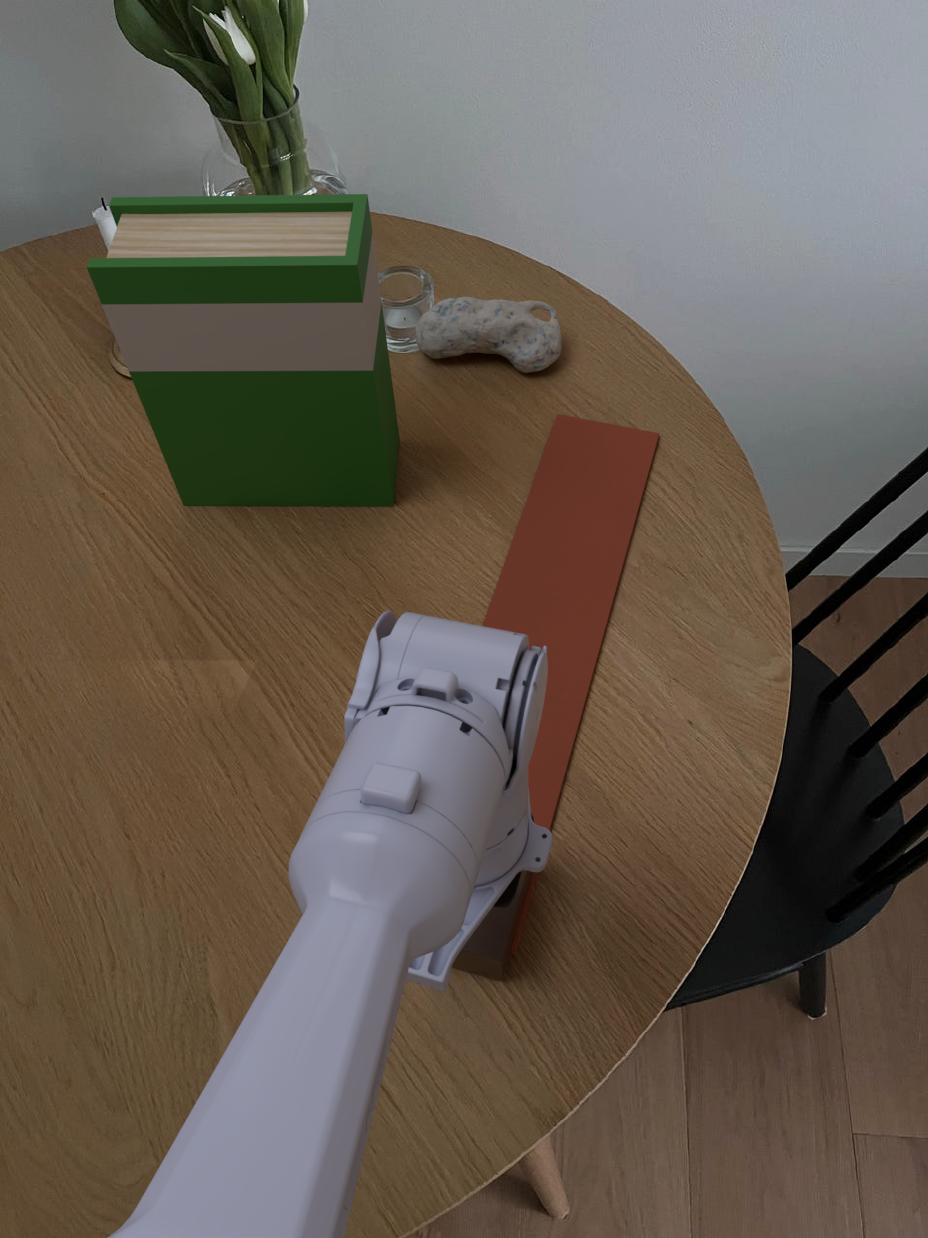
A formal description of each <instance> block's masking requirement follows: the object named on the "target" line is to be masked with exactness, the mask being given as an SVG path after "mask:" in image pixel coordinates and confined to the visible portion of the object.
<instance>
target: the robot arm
mask: <svg viewBox="0 0 928 1238" xmlns="http://www.w3.org/2000/svg"><path fill="white" fill-rule="evenodd" d="M357 670H358V671H357V675H356V679H355V683H354V686H353V690H352V693H351V696H350V699H349V701H348V702H347V707H346V711H345V713H344V717H343V723H344V724H343V725H344V745H343V747H342V750H341V751H340V754H339V756H338V758H337V760H336V761H335V764H334V766H333V768H332V770H331V772H330V774H329V776H328V778H327V780H326V782H325V784H324V786H323V788H322V791H321V792H320V794H319V797H318V799H317V801H316V803H315V805H314V807H313V809H312V810H311V813H310V815H309V817H308V819H307V821H306V823H305V826H304V827H303V829H302V832H301V833H300V836H299V839H298V841H297V843H296V845H295V847H294V848H293V850H292V852H291V854H290V856H289V861H288V880H289V885H290V889H291V892H292V895H293V897H294V900H295V902H296V905H297V906H298V909H299V911H300V913H301V917H300V919H299V921H298V923H297V925H296V926H295V928H294V930H293V931H292V933H291V935H290V937H289V939H288V940H287V942H286V943H285V946H284V947H283V949H282V951H281V953H280V954H279V956H278V958H277V960H276V961H275V963H274V965H273V967H272V969H271V970H270V972H269V973H268V976H267V977H266V979H265V981H264V982H263V984H262V986H261V988H260V989H259V991H258V993H257V995H256V996H255V998H254V1000H253V1002H252V1004H251V1005H250V1007H249V1009H248V1010H247V1012H246V1014H245V1015H244V1017H243V1019H242V1020H241V1023H240V1024H239V1026H238V1028H237V1030H236V1032H234V1035H233V1036H232V1039H231V1040H230V1042H229V1044H228V1045H227V1048H226V1049H225V1051H224V1052H223V1054H222V1056H221V1057H220V1060H219V1061H218V1063H217V1064H216V1066H215V1068H214V1070H213V1071H212V1074H211V1076H210V1077H209V1079H208V1081H207V1083H206V1084H205V1086H204V1088H203V1089H202V1092H201V1093H200V1095H199V1097H198V1098H197V1100H196V1102H195V1103H194V1105H193V1107H192V1109H191V1111H190V1112H189V1114H188V1116H187V1118H186V1120H185V1121H184V1123H183V1125H182V1126H181V1127H180V1129H179V1132H178V1133H177V1135H176V1137H175V1139H174V1141H173V1142H172V1144H171V1145H170V1147H169V1149H168V1151H167V1153H166V1155H165V1156H164V1158H163V1160H162V1161H161V1163H160V1165H159V1167H158V1169H157V1170H156V1172H155V1174H154V1175H153V1177H152V1179H151V1181H150V1183H149V1184H148V1186H147V1188H146V1190H145V1191H144V1193H143V1195H142V1197H140V1200H139V1202H138V1203H137V1206H136V1207H135V1209H134V1210H133V1212H132V1213H131V1214H130V1216H129V1217H128V1218H127V1220H126V1221H125V1222H124V1223H123V1224H122V1225H121V1226H120V1227H119V1228H118V1229H117V1230H115V1231H114V1232H113V1233H112V1234H110V1235H109V1236H107V1237H106V1238H345V1234H346V1230H347V1227H348V1221H349V1217H350V1213H351V1209H352V1204H353V1201H354V1197H355V1192H356V1189H357V1185H358V1181H359V1180H358V1179H359V1176H360V1172H361V1169H362V1163H363V1160H364V1155H365V1151H366V1146H367V1143H368V1139H369V1134H370V1131H371V1126H372V1122H373V1118H374V1114H375V1109H376V1105H377V1101H378V1097H379V1093H380V1088H381V1084H382V1080H383V1075H384V1072H385V1069H386V1064H387V1060H388V1055H389V1053H390V1047H391V1043H392V1040H393V1039H392V1038H393V1036H394V1031H395V1026H396V1023H397V1019H398V1014H399V1010H400V1006H401V1002H402V998H403V994H404V990H405V986H406V981H407V982H409V983H413V984H417V985H420V986H422V987H426V988H429V989H433V990H436V991H439V992H443V993H445V992H447V990H448V987H449V984H450V981H451V977H452V970H451V968H452V964H453V962H454V961H455V959H456V957H457V955H458V954H459V952H460V951H461V949H462V948H463V946H464V945H465V944H466V942H467V941H468V939H469V938H470V937H471V935H472V934H473V933H474V931H475V930H476V929H477V927H478V926H479V925H480V923H481V922H482V920H483V919H484V918H485V916H486V915H487V914H488V912H489V911H490V910H491V908H492V907H498V908H506V907H508V906H509V904H510V903H511V902H512V900H513V898H514V896H515V894H516V891H517V887H518V884H519V880H520V877H521V873H522V870H528V871H531V872H538V873H541V872H542V871H544V870H545V868H546V866H547V863H548V861H549V856H550V853H551V849H552V846H553V833H552V832H551V829H550V830H548V829H546V828H544V827H541V826H538V825H536V824H535V823H534V818H533V816H532V813H531V809H530V799H529V788H528V765H529V762H530V759H531V756H532V753H533V750H534V746H535V742H536V738H537V734H538V730H539V725H540V720H541V715H542V710H543V705H544V699H545V692H546V685H547V675H548V663H547V647H546V646H544V647H543V649H542V650H541V648H540V647H536V646H531V647H530V650H529V638H528V635H526V634H521V633H516V632H510V631H505V630H500V629H495V628H490V627H484V626H482V625H478V624H473V623H469V622H464V621H458V620H453V619H447V618H443V617H437V616H433V615H427V614H426V615H425V614H422V613H416V612H411V611H406V612H404V613H402V615H400V617H399V618H397V615H396V614H395V612H393V611H392V610H389V609H388V610H385V611H383V613H381V614H380V616H379V617H378V618H377V620H376V622H375V623H374V625H373V626H372V628H371V630H370V632H369V634H368V637H367V640H366V643H365V646H364V649H363V651H362V656H361V659H360V663H359V667H358V669H357Z"/></svg>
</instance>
